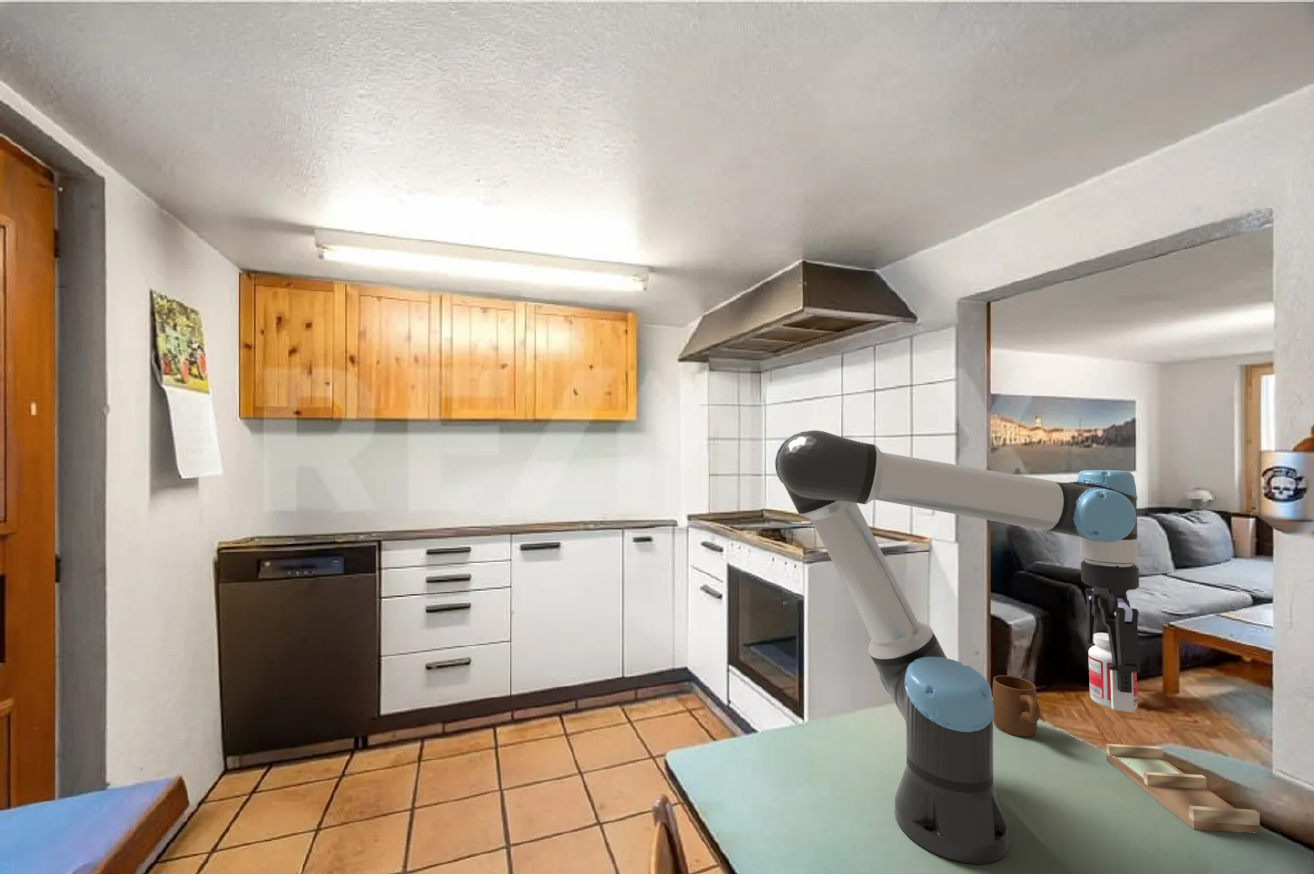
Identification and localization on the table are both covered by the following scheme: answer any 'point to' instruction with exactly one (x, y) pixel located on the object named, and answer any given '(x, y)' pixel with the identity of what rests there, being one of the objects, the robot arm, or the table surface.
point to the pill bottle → (1103, 671)
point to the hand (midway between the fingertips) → (1113, 700)
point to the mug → (1015, 706)
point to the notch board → (1180, 790)
